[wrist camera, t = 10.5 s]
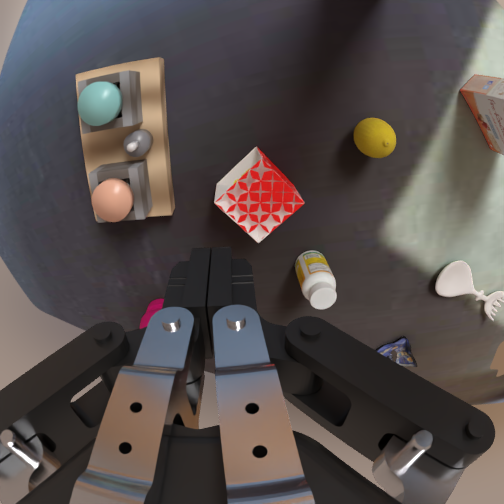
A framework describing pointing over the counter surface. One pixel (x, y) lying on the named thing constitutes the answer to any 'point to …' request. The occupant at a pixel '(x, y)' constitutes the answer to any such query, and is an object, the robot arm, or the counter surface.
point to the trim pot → (138, 142)
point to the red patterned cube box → (257, 195)
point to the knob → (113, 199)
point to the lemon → (374, 137)
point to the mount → (128, 120)
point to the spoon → (464, 286)
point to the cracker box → (487, 107)
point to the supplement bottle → (316, 279)
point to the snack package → (399, 352)
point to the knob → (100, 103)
